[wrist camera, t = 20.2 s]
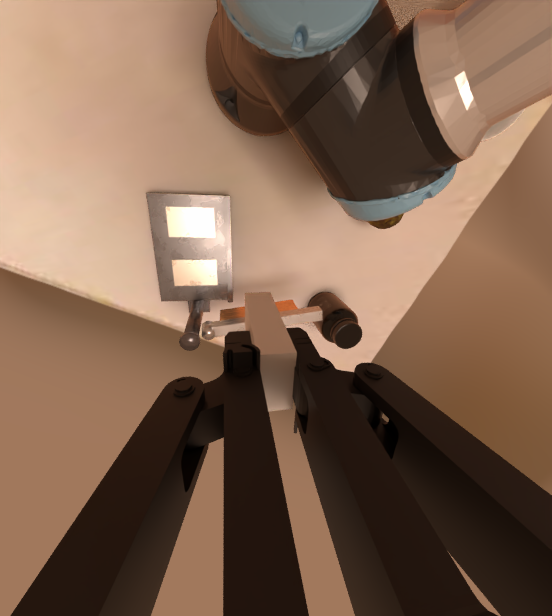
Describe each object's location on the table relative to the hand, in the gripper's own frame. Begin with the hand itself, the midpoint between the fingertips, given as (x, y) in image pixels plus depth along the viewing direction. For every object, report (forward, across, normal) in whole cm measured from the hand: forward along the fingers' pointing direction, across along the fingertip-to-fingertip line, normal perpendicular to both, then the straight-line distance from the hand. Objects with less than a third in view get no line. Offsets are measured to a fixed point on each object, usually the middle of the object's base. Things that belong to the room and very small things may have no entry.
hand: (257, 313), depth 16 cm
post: (+32, -7, -12) cm, 35 cm away
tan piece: (+26, +3, -11) cm, 29 cm away
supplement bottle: (+33, +17, -14) cm, 39 cm away
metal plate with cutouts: (+32, -7, -2) cm, 33 cm away
